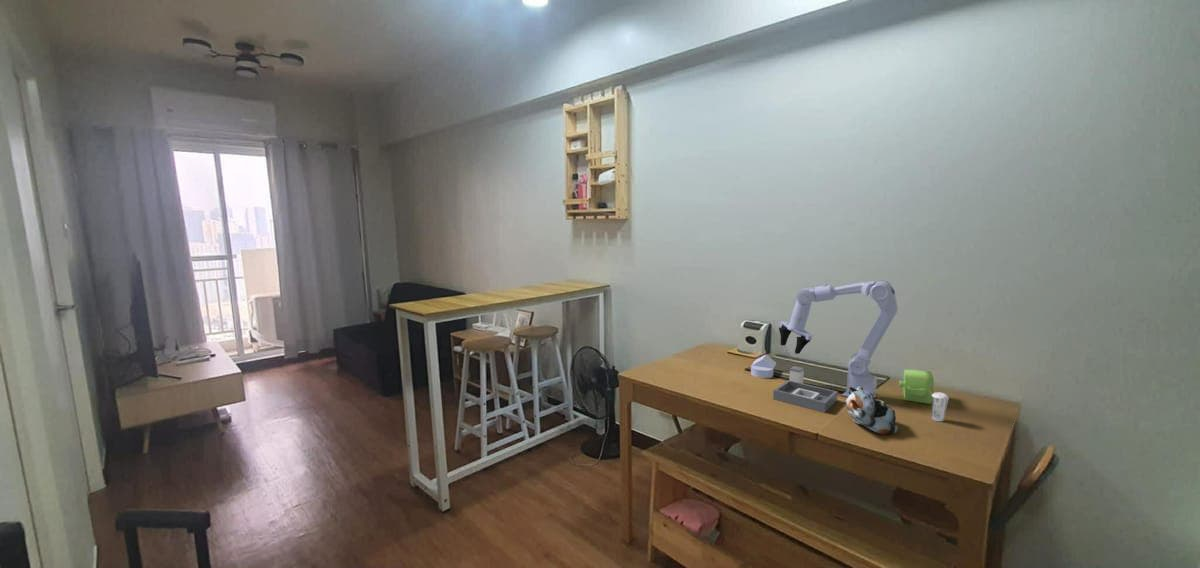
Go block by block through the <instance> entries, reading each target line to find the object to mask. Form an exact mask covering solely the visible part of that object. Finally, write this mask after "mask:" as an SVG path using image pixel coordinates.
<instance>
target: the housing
mask: <svg viewBox="0 0 1200 568" xmlns="http://www.w3.org/2000/svg"><path fill="white" fill-rule="evenodd" d="M772 395H773V396H772V397H773V400H775V401H779V402H783V403H785V404H786V403H788V404H791V405H794V406H799V407H801V408H805V409H809V410H812V411H817V412H821V413H824V414H825V413H826V412H827V411H829V409H830V408H831V407H832V406H833V405H834V404H835V403H836V402H837V401H838V395H839V393H838V391H837V390H832V389H829V388H823V387H821V386H820V387H819V386H815V385H810V384H807V383H804V382H803V383H799V382H794V381H790V380H788V379H787V380H786V381H785V382H784V383H782V384H781V385H779V386H777V387H776V388H774V389H773V394H772Z"/></svg>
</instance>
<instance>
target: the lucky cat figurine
mask: <svg viewBox="0 0 1200 568" xmlns="http://www.w3.org/2000/svg"><path fill="white" fill-rule="evenodd" d="M849 389H850V391H849V397H847V398H846V400H845V403H846V411H847V412H848V414H849V415H850V417H851V418H852V419H853V423H854V424H858V425H861V426H863V427H865V428H867V429H868V430H870V431H873V432H874V433H877V434H878V435H881V436H887V435H888V436H889V435H893V434H896V433H897V432H898V428H899V427H898V424H897V423H896V411H895V410H894V409H892V408H891V407H890V405H889V404H887V403H886V402H885V401H884V400H881V399H875V398H874V397H873V395H872V393H870V392H868V391H863V388H862V387H857V389H854V388H852V387H850V388H849Z"/></svg>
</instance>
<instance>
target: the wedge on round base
mask: <svg viewBox="0 0 1200 568" xmlns="http://www.w3.org/2000/svg"><path fill="white" fill-rule="evenodd" d="M776 365H777V362H776V361H775V360H774V359H772V358H771V357H770V356H769V355H768V354H763V355H762V356H761V357H758V358H756V359H755V360H754V361H753V362H752V364H751V365H750V368H751V369H750V375H751V376H753V377H755V378H761V379H770V378H772V377H774V368H775V367H776Z"/></svg>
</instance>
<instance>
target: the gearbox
mask: <svg viewBox="0 0 1200 568" xmlns="http://www.w3.org/2000/svg"><path fill="white" fill-rule="evenodd" d="M898 383H899V384H898V386H899V388H903V396H904V397H903V398H904V400H905V401H908V402H909V401H910V402H915V403H922V404H931V405H932V395H931V394H933V393H934V376H933V374H932V371H929V370H918V369H903V380H899V381H898ZM929 389H930V390H929ZM930 391H931V392H930Z"/></svg>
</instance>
